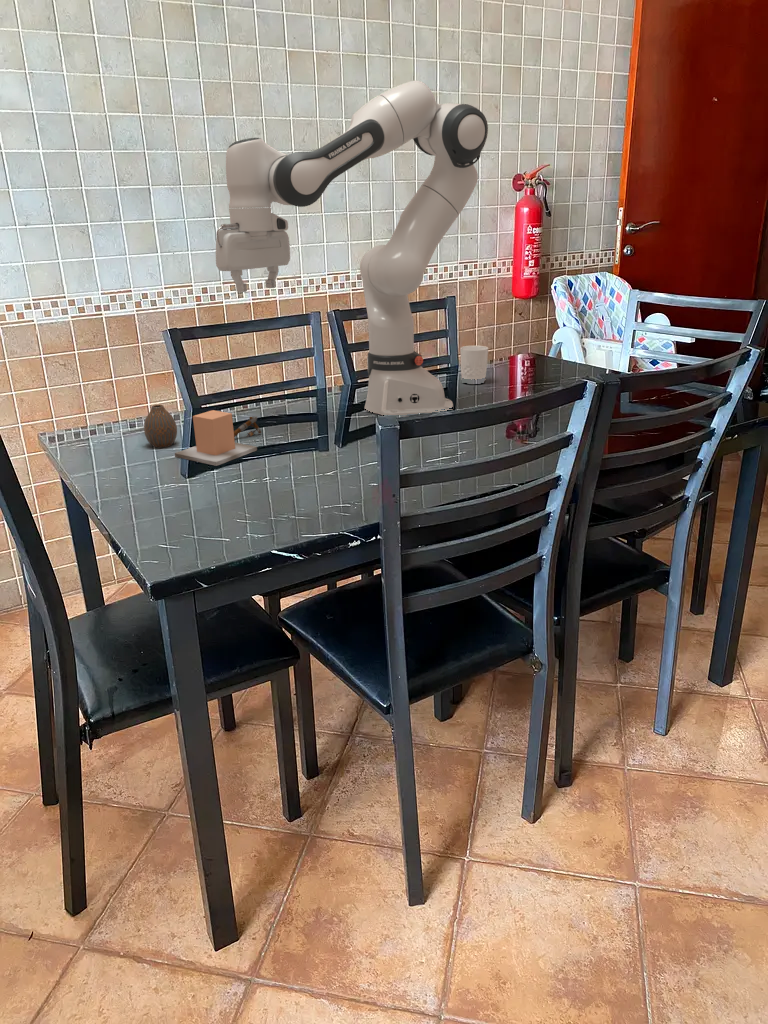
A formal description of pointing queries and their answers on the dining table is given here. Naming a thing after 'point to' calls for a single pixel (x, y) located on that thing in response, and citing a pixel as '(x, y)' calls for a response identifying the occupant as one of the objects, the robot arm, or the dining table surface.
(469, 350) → the white cup
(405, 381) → the robot arm
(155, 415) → the vase
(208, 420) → the tan cardboard cube
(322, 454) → the dining table surface
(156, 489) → the dining table surface
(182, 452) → the base with wooden post
